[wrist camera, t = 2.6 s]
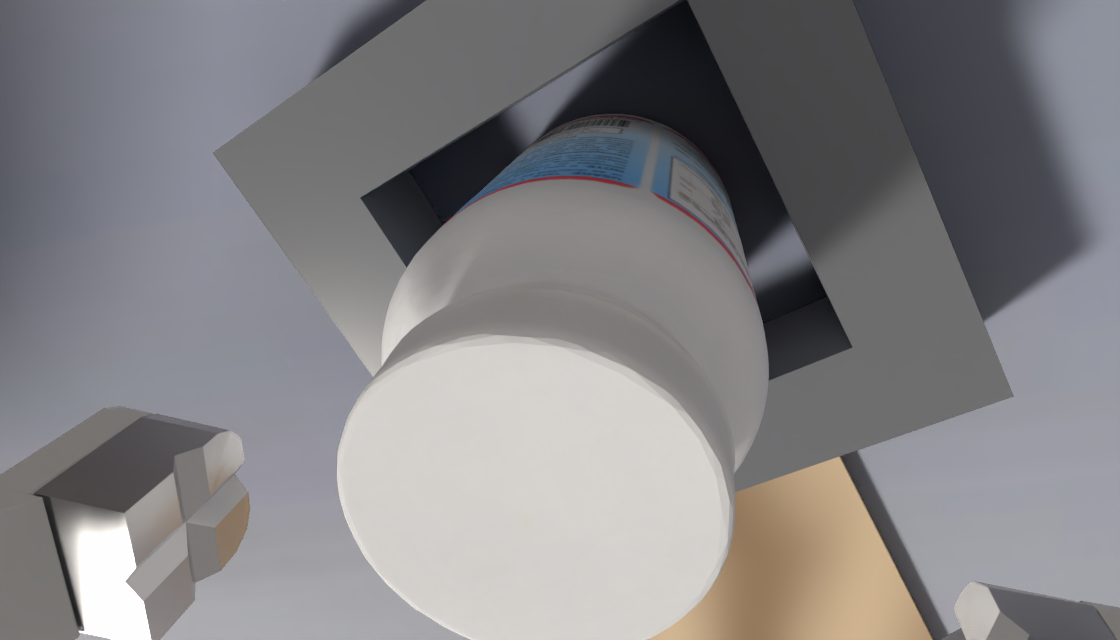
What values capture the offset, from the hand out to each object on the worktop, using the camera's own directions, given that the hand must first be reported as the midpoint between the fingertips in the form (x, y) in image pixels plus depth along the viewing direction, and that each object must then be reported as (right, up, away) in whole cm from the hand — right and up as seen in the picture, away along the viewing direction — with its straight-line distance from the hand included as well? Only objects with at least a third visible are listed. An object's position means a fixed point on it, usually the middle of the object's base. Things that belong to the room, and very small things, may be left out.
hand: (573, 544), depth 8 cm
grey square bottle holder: (+1, +5, +10) cm, 11 cm away
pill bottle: (+1, +5, +10) cm, 12 cm away
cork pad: (+6, -6, +14) cm, 16 cm away
